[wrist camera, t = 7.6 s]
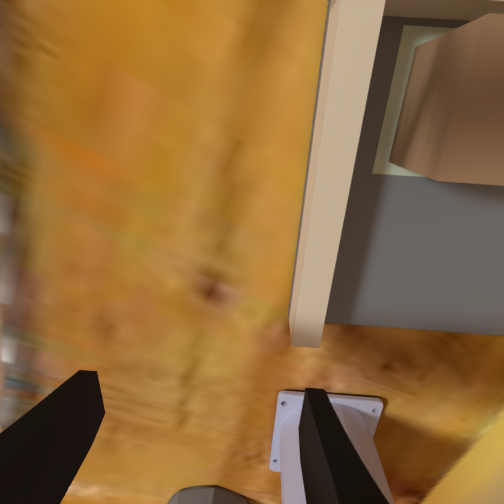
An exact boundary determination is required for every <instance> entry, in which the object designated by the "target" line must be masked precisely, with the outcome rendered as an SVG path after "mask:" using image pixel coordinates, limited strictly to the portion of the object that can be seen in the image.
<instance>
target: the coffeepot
mask: <svg viewBox="0 0 504 504" xmlns="http://www.w3.org/2000/svg"><path fill="white" fill-rule="evenodd" d="M168 504H249V503H248V502H247V501H246V500H245V499H244V498H243V497H241V496H240V495H239V494H237V493H235V492H233V491H231V490H228V489H225V488H221V487H216V486H193V487H188V488H185V489H182V490H180V491H178V492H177V493H175V494H174V495H173V496H172V497H171V499H170V500H169V502H168Z"/></svg>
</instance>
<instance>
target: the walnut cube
mask: <svg viewBox="0 0 504 504" xmlns="http://www.w3.org/2000/svg"><path fill="white" fill-rule="evenodd" d="M389 162H390V163H392V164H395V165H397V166H400V167H403V168H405V169H408V170H410V171H413V172H416V173H418V174H421V175H423V176H426V177H429V178H431V179H434V180H436V181H443V182H457V183H472V184H487V185H502V186H504V14H495V13H489V14H487V15H485V16H482V17H480V18H478V19H476V20H474V21H471V22H469V23H467V24H465V25H463V26H460V27H458V28H456V29H454V30H452V31H450V32H447V33H445V34H443V35H441V36H439V37H436V38H434V39H432V40H430V41H428V42H426V43H423V44H421V45H419V46H417V47H415V51H414V56H413V60H412V64H411V68H410V73H409V77H408V81H407V85H406V90H405V94H404V98H403V102H402V107H401V111H400V115H399V119H398V124H397V128H396V132H395V137H394V141H393V145H392V149H391V154H390V158H389Z"/></svg>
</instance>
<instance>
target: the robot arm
mask: <svg viewBox="0 0 504 504" xmlns="http://www.w3.org/2000/svg"><path fill="white" fill-rule="evenodd" d="M284 401H285V402H284ZM382 409H383V402H382V400H381V399H379V398H372V397H359V396H347V395H334V394H327V393H326V391H325V390H324V389H316V388H305V392H296V391H281V392H280V393H279V394H278V400H277V408H276V416H275V423H274V431H273V439H272V446H271V454H270V462H269V468H270V470H272V471H275V472H281V495H282V504H394V501H393V498H392V495H391V492H390V489H389V486H388V483H387V480H386V477H385V473H384V470H383V467H382V464H381V461H380V458H379V455H378V452H377V449H376V446H375V443H374V440H373V436H374V433H375V430H376V427H377V424H378V421H379V418H380V415H381V412H382ZM104 415H105V409H104V404H103V399H102V394H101V389H100V384H99V379H98V374H97V371H86V370H79V371H78V372H77V373H75V374H74V375H73V376H72V377H70V378H69V379H68V380H67V381H65V382H64V383H63V384H62V385H60V386H59V387H58V388H57V389H55V390H54V391H53V392H52V393H51V394H49V395H48V396H47V397H46V398H44V399H43V400H42V401H41V402H40V403H38V404H37V405H36V406H35V407H33V408H32V409H31V410H30V411H28V412H27V413H26V414H25V415H23V416H22V417H21V418H19V419H18V420H17V421H16V422H14V423H13V424H12V425H11V426H9V427H8V428H7V429H5V430H4V431H3V432H1V433H0V504H60V503H61V501H62V499H63V497H64V496H65V494H66V492H67V490H68V488H69V486H70V485H71V483H72V481H73V479H74V477H75V476H76V474H77V472H78V470H79V468H80V466H81V464H82V463H83V461H84V459H85V457H86V455H87V453H88V451H89V450H90V448H91V446H92V444H93V441H94V439H95V437H96V434H97V432H98V430H99V427H100V425H101V422H102V420H103V417H104Z"/></svg>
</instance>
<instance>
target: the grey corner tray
mask: <svg viewBox="0 0 504 504" xmlns="http://www.w3.org/2000/svg"><path fill="white" fill-rule="evenodd" d="M489 13H495V14H504V0H329V1H328V8H327V16H326V24H325V32H324V39H323V47H322V55H321V63H320V70H319V78H318V86H317V94H316V102H315V109H314V117H313V125H312V133H311V140H310V148H309V156H308V164H307V171H306V179H305V187H304V195H303V202H302V210H301V218H300V226H299V234H298V241H297V249H296V257H295V265H294V272H293V280H292V288H291V296H290V303H289V311H288V315H289V324H290V333H291V342H292V346H297V347H311V348H320V343H321V337H322V332H323V327H324V323H337V324H351V325H364V326H378V327H391V328H404V329H418V330H431V331H445V332H458V333H472V334H485V335H498V336H504V186H502V185H487V184H472V183H457V182H443V181H436V180H434V179H431V178H429V177H426V176H423V175H421V174H418V173H416V172H413V171H410V170H408V169H405V168H403V167H400V166H397V165H395V164H392V163H390V162H389V158H390V154H391V149H392V145H393V141H394V137H395V132H396V128H397V124H398V119H399V115H400V111H401V107H402V102H403V98H404V94H405V90H406V85H407V81H408V77H409V73H410V68H411V64H412V60H413V56H414V51H415V47H417V46H419V45H421V44H423V43H426V42H428V41H430V40H432V39H434V38H436V37H439V36H441V35H443V34H445V33H447V32H450V31H452V30H454V29H456V28H458V27H460V26H463V25H465V24H467V23H469V22H471V21H474V20H476V19H478V18H480V17H482V16H485V15H487V14H489Z"/></svg>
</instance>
